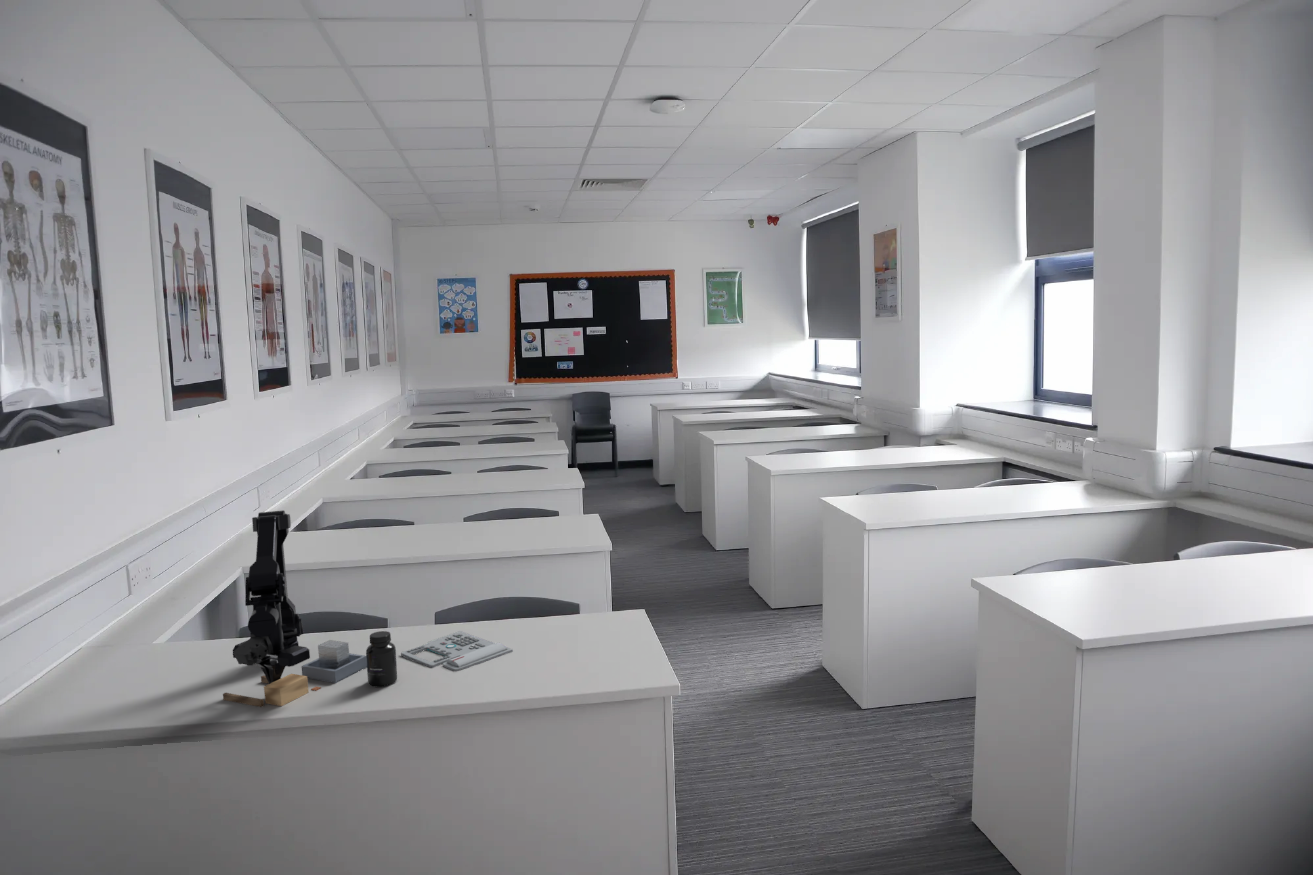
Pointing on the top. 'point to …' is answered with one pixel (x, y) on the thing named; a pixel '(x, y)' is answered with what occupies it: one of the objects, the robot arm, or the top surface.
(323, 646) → the block
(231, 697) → the bar
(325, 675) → the tray
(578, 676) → the top surface
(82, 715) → the top surface
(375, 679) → the supplement bottle
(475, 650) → the office telephone
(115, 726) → the top surface
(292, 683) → the block
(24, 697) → the top surface
